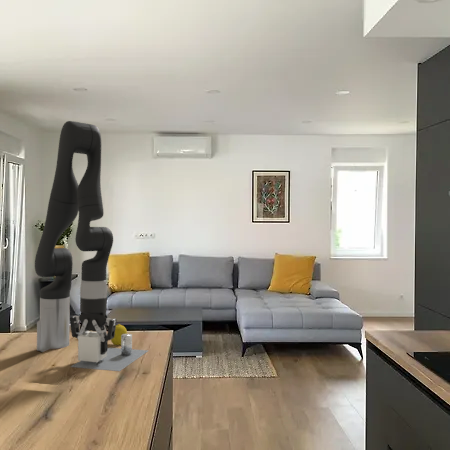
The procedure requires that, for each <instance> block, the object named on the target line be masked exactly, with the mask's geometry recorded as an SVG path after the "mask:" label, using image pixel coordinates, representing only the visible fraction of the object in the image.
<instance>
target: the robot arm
mask: <svg viewBox="0 0 450 450" xmlns="http://www.w3.org/2000/svg"><path fill="white" fill-rule="evenodd" d="M75 154H82V155H86V158H87V159H86V160H87V166H86V169H85V172H84V174H83V176H82V178H81V179H80V181H79V182H78V180H77V178H76V176H75V173H74V169H73V160H74V159H73V158H74V155H75ZM101 170H102V135H101V130H100V129H99V127H97V126H96V125H95V124H90V123H87V122H81V121H74V120H67V121H66V122H65V123H64V124H63V125H62V128H61V130H60V135H59V139H58V148H57V160H56V165H55V173H54V177H53V182H52V186H51V191H50V195H49V198H48V199H49V200H48V205H47V210H46V216H45V222H44V226H43V229H42V230H43V231H42V234H41V237H40V239H39V243H38V246H37V251H36V254H35V257H34V258H35V259H34V270H35V273H36V275H37V276H38V277H41V278H52V277H54V280H53V281H52V282H51V283H49V284H48V285H45V286H44V287H42V288H41V289H40V291H39V320H37V321H36V351H39V352H41V353H44V352H47V351H49V350H57V349H63V348H67V347H69V346H70V331H71V337H72V338H76V339H77V340H78V336H80V335H83V334H84V333H87V332H88V331H90V332H97V334H98V335H99V336H101V338H100V339H101V341H102V342H101V347H100V354H101V355H103V354H105V353H106V352H107V347H108V342H109V341H111V339H113V338H114V335H115V329H116V325H117V321H118V320H117V318H110V317H108V315H107V311H108V310H107V309H108V305H107V304H108V284H107V267H108V262H109V259H110V254H111V252H112V248H113V244H114V236H113V233H112V231H111V229H110V228H109V227H106V226H91V222H92V221H98V220H100V219H102V218H103V217H104V206H103V205H104V203H103V197H102V190H101V189H102V188H101V175H102V171H101ZM77 216H78V220H77V227H76V228H77V229H76V233H75V238H74V239H75V241H74V242H75V245H76V247H77V248H78V249H79V250H80V251H82V252H96V254H95V255H94V256H93V257H91V258H88V259H85V260H83V261H82V262H81V276H80V277H81V278H80V279H81V280H80V281H81V282H80V288H79V289H80V292H79V293H80V296H79V312H80V313H79V315H72V316H71V315H70V312H71V311H70V310H71V309H70V306H71V305H70V304H71V302H70V301H71V297H70V296H71V294H70V293H71V289H72V276H73V256H72V255H73V254H72V253H71V251H70V249H68V248H65V247H56V245H57V242H58V240H59V239H60V237H61V236H62V235H63V234H64V232H65V231H66V230H67V229H68V228H69V227H70V226H71V225H72V224H73V222H74V221H75V220H76V218H77ZM79 323H81V327H80V325H79ZM106 324H107V328H106V326H105V325H106Z"/></svg>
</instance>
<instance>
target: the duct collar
mask: <svg viewBox="0 0 450 450" xmlns="http://www.w3.org/2000/svg"><path fill="white" fill-rule="evenodd" d="M100 338H101V336H99V335H98V334H97V332H96V331H91V330H90V331H88V332H87V333H84V334H83V335H80V336H78V339H77V352H78V353H77V361H78V362H80V361H90V362H98V361H100V360H102V359H103V358H105V357H107V352H106V353H105V354H103V355H101V354H100V347H101V342H102V341H101V339H100Z"/></svg>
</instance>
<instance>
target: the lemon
mask: <svg viewBox="0 0 450 450" xmlns="http://www.w3.org/2000/svg"><path fill="white" fill-rule="evenodd" d="M122 334H128V331H127V328H126V327H125V326H124V325H122V324H120V323H118V324H116V329H115V335H114V338H113V339H111V340H110V341H111V343H112V344H113V345H114V346H121V335H122Z"/></svg>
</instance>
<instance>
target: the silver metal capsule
mask: <svg viewBox="0 0 450 450" xmlns="http://www.w3.org/2000/svg"><path fill="white" fill-rule="evenodd" d="M120 346H121V347H120V348H121V355H122V356H129V355H132V349H133V334H131V333H127V334H122V335H121V345H120Z"/></svg>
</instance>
